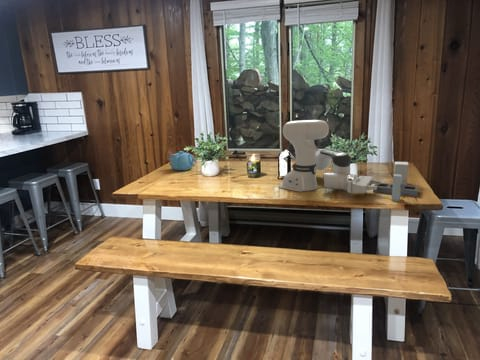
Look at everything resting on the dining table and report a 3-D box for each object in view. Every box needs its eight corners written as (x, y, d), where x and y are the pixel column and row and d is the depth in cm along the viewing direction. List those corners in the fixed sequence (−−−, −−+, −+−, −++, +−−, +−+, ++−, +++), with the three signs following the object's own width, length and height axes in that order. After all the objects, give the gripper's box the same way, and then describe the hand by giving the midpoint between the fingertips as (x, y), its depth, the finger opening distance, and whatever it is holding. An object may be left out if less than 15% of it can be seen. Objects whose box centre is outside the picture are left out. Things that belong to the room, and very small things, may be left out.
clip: (391, 200, 197) (393, 175, 194) (392, 198, 200) (394, 174, 197) (399, 201, 195) (400, 176, 192) (400, 199, 199) (401, 174, 195)
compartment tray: (373, 192, 212) (373, 186, 211) (376, 187, 220) (376, 182, 219) (416, 196, 201) (417, 191, 200) (418, 191, 209) (419, 186, 209)
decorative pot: (173, 173, 272) (171, 154, 268) (169, 168, 286) (167, 150, 282) (196, 170, 277) (194, 151, 273) (190, 165, 292) (189, 148, 288)
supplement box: (407, 186, 219) (408, 164, 216) (393, 185, 222) (394, 164, 219) (406, 182, 226) (408, 161, 223) (393, 182, 229) (394, 161, 225)
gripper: (356, 183, 218) (382, 185, 211) (346, 193, 200) (374, 197, 194) (356, 172, 216) (382, 174, 209) (347, 182, 199) (375, 185, 192)
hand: (378, 185), depth 201 cm, fingers open, 8 cm apart
